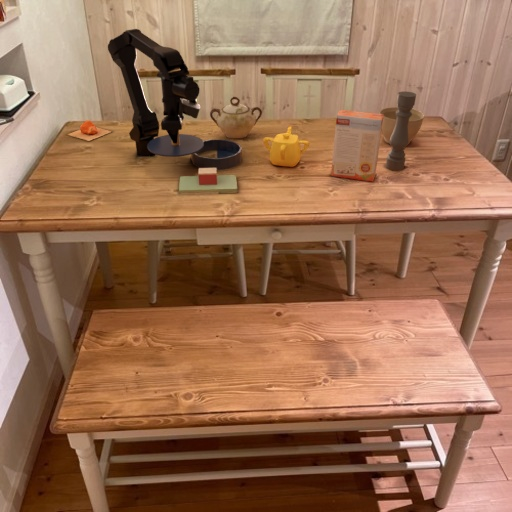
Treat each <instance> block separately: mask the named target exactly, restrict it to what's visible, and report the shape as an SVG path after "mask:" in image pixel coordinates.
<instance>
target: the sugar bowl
mask: <svg viewBox="0 0 512 512" xmlns="http://www.w3.org/2000/svg"><path fill="white" fill-rule="evenodd" d="M233 100H236V102H234V103H233ZM255 111H258V113H259V114H258V116H256V114H255ZM214 113H217V116H216V119H215V117H214V116H213V115H214ZM262 114H263V111H262V109H261V107H259V106H255V107H252V108H250V107H249V106H248V105H245V104H241V100H240V98H239V97H237V96H232V97H231V98H230V104H228V105H226V106H223V107H222V108H221V109H219V108H213V109H211V110H210V112H209V116H210V118H211V120H212V121H213V122H214V123H215V124H216V126H217V127H218V128H219V129H220V130H221V131H222V133H224V135H225V137H226V138H228V139H244V138H246V137H247V136H248V135H249V133H250V132H251V131H252V129H253V128H254V127H255V126H256V124H257V122H258V121H259V120H260V119H261V118H262Z"/></svg>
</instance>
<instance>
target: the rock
mask: <svg viewBox="0 0 512 512" xmlns="http://www.w3.org/2000/svg"><path fill="white" fill-rule="evenodd" d="M110 133H112V131H111V130H107V129H104V128H100V127H97V126H96V125H95V123H93V122H92V121H91V120H85V121H84V122H83V123H82V124H81V125H80V126H79V129H78V130H76V131H73V132H70V133H67V134H66V135H67V136H70V137H74V138H77V139H81V140H83V141H88V142H90V141H93V140H95V139H97V138H101V137H102V136H105V135H108V134H110Z"/></svg>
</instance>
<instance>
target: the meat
mask: <svg viewBox="0 0 512 512" xmlns="http://www.w3.org/2000/svg"><path fill="white" fill-rule="evenodd" d="M217 171H218V170H217V168H200V167H198V176H199V185H217V175H218V172H217Z"/></svg>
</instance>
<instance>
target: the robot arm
mask: <svg viewBox="0 0 512 512" xmlns="http://www.w3.org/2000/svg"><path fill="white" fill-rule="evenodd" d="M137 50H138V51H139V52H141V53H142V54H144V55H145V56H146V57H148V58H149V59H151V60H152V64H153V66H154V67H155V68H156V69H157V70H158V71H159V72H157V74H156V77H157V78H160V82H161V94H162V98H161V103H162V105H163V113H162V114H163V118H162V119H161V123H160V122H159V120H158V115H157V113H156V112H155V111H152V109H150V108H149V106H148V103H147V99H146V97H145V94H144V93H145V92H144V90H143V86H142V82H141V80H140V77H139V73H138V71H137V67H136V61H137V57H138V54H137V53H138V52H137ZM107 51H108V52H109V54H110V57H111V60H112V61H113V63H114V64H116V65H117V67H118V68H119V69H120V71H121V75H122V78H123V81H124V84H125V87H126V91H127V95H128V98H129V100H130V103H131V106H132V107H131V108H132V110H133V115H132V119H131V122H132V128H131V130H130V131H129V133H128V135H129V139H130V140H131V141H133V142H134V143H135V149H136V156H135V157H136V158H147V157H155V156H156V154H154V153H152V152H150V151H149V150H148V147H147V145H148V143H149V142H150V141H151V140H153V139H155V138H157V137H159V132H160V128H161V131H166V132H167V135H169V136H170V138H171V139H172V141H173V143H177V139H178V130H179V131H180V130H183V127H184V126H183V125H184V122H183V121H184V119H185V116H187V117H188V116H189V117H191V118H192V119H198V116H199V113H200V110H201V105H200V103H198V101H197V100H198V99H197V98H198V97H199V96H200V95H199V94H200V91H201V90H200V86H199V84H198V83H197V82H196V81H194V76H192V75H190V71H189V68H188V65H187V64H186V63H185V60H184V59H183V56H182V55H181V53H180V51H179V50H178V49H175V48H173V47H168V46H164V45H161V44H160V43H157V42H156V41H155V40H153V39H151V37H149V36H148V35H146V34H144V33H143V32H142V31H141V29H138V28H132V29H127V30H124V31H123V32H122V33H121V34H119V35H118V36H116V37H114V38H111V39H110V40H109V41H108V44H107ZM184 115H185V116H184Z"/></svg>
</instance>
